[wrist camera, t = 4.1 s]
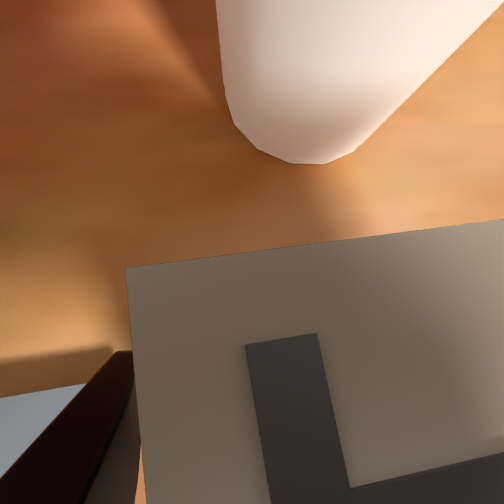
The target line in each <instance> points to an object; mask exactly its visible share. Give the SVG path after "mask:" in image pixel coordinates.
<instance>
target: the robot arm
mask: <svg viewBox="0 0 504 504" xmlns="http://www.w3.org/2000/svg"><path fill="white" fill-rule="evenodd" d="M140 446H141V437H140V427H139V416H138V405H137V394H136V383H135V372H134V361H133V350H128V351H117V352H115V353H114V354H113V355H112V356H111V357H110V358H109V359H108V360H107V362H106V363H105V364H104V365H103V366H102V367H101V368H100V369H99V370H98V371H97V373H96V374H95V375H94V376H93V377H92V378H91V379H90V380H89V381H88V382H87V383H86V385H85V386H84V387H83V388H82V389H81V390H80V391H79V392H78V393H77V394H76V395H75V397H74V398H73V399H72V400H71V401H70V402H69V403H68V404H67V405H66V406H65V407H64V409H63V410H62V411H61V412H60V413H59V414H58V415H57V416H56V417H55V418H54V420H53V421H52V422H51V423H50V424H49V425H48V426H47V427H46V428H45V429H44V430H43V432H42V433H41V434H40V435H39V436H38V437H37V438H36V439H35V440H34V441H33V442H32V444H31V445H30V446H29V447H28V448H27V449H26V450H25V451H24V452H23V453H22V455H21V456H20V457H19V458H18V459H17V460H16V461H15V462H14V463H13V464H12V465H11V467H10V468H9V469H8V470H7V471H6V472H5V473H4V474H3V475H2V476H1V477H0V504H134V501H135V495H136V489H137V482H138V472H139V460H140Z"/></svg>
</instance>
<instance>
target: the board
mask: <svg viewBox="0 0 504 504" xmlns="http://www.w3.org/2000/svg"><path fill="white" fill-rule="evenodd" d="M85 385H86V383H85V384H79V385H73V386H67V387H62V388H56V389H50V390H44V391H38V392H33V393H27V394H21V395H15V396H9V397H3V398H0V477H1V476H2V475H3V474H4V473H5V472H6V471H7V470H8V469H9V468H10V467H11V465H12V464H13V463H14V462H15V461H16V460H17V459H18V458H19V457H20V456H21V455H22V453H23V452H24V451H25V450H26V449H27V448H28V447H29V446H30V445H31V444H32V442H33V441H34V440H35V439H36V438H37V437H38V436H39V435H40V434H41V433H42V432H43V430H44V429H45V428H46V427H47V426H48V425H49V424H50V423H51V422H52V421H53V420H54V418H55V417H56V416H57V415H58V414H59V413H60V412H61V411H62V410H63V409H64V407H65V406H66V405H67V404H68V403H69V402H70V401H71V400H72V399H73V398H74V397H75V395H76V394H77V393H78V392H79V391H80V390H81V389H82V388H83V387H84V386H85ZM134 504H135V501H134Z"/></svg>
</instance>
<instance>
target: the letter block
mask: <svg viewBox="0 0 504 504" xmlns="http://www.w3.org/2000/svg"><path fill="white" fill-rule="evenodd" d="M125 274H126V285H127V296H128V307H129V318H130V329H131V339H132V350H133V361H134V372H135V383H136V394H137V405H138V416H139V427H140V437H141V448H142V459H143V470H144V481H145V492H146V503H147V504H504V219H501V220H493V221H485V222H478V223H470V224H462V225H455V226H447V227H439V228H431V229H424V230H416V231H408V232H401V233H393V234H385V235H377V236H370V237H362V238H354V239H347V240H339V241H331V242H323V243H316V244H308V245H300V246H293V247H285V248H277V249H269V250H262V251H254V252H246V253H239V254H231V255H223V256H216V257H208V258H200V259H192V260H185V261H177V262H169V263H162V264H154V265H146V266H138V267H131V268H125Z"/></svg>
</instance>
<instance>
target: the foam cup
mask: <svg viewBox="0 0 504 504" xmlns="http://www.w3.org/2000/svg"><path fill="white" fill-rule="evenodd" d="M215 1H216V12H217V22H218V32H219V43H220V53H221V63H222V74H223V84H224V87H225V96H226V100H227V103H228V106H229V110H230V113H231V116H232V120H233V123H234V125H235V126H236V127H237V128H238V129H239V130H240V131H241V132H242V133H243V134H244V135H245V136H246V138H247V139H248V140H249V141H250V142H251V143H252V144H253V145H254V146H255V147H256V148H257V149H259V150H261V151H263V152H265V153H268V154H270V155H272V156H274V157H277V158H279V159H281V160H283V161H286V162H288V163H294V164H326V163H329V162H331V161H333V160H335V159H338V158H340V157H342V156H344V155H347V154H349V153H351V152H354V151H355V149H356V148H357V147H358V146H359V145H361V144H362V143H363V142H364V141H365V140H366V139H367V138H368V137H369V136H370V135H371V134H372V133H373V132H374V131H375V130H376V129H377V128H378V127H379V126H380V125H381V124H382V123H383V122H384V121H385V120H386V119H387V118H388V117H389V116H390V115H391V114H392V113H393V112H394V111H395V110H396V109H397V108H398V107H399V106H400V105H401V104H402V103H403V102H404V101H405V100H406V99H407V98H408V97H409V96H410V95H411V94H412V93H413V92H414V91H415V90H416V89H417V88H418V87H419V86H420V85H421V84H422V83H423V82H424V81H425V80H426V79H427V78H428V77H429V76H430V75H431V74H432V73H433V72H434V71H435V70H436V69H437V68H438V67H439V66H440V65H441V64H442V63H443V62H444V61H445V60H446V59H447V58H448V57H449V56H450V55H451V54H452V53H453V52H454V51H455V50H456V49H457V48H458V47H459V46H460V45H461V44H462V43H463V42H464V41H465V40H466V39H467V38H468V37H469V36H470V35H471V34H472V33H473V32H474V31H475V30H476V29H477V28H478V27H479V26H480V25H481V24H482V23H483V22H484V21H485V20H486V19H487V18H488V17H489V16H490V15H491V14H492V13H493V12H494V11H495V10H496V9H497V8H498V7H499V6H500V5H501V4H502V3H503V2H504V0H215Z"/></svg>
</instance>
